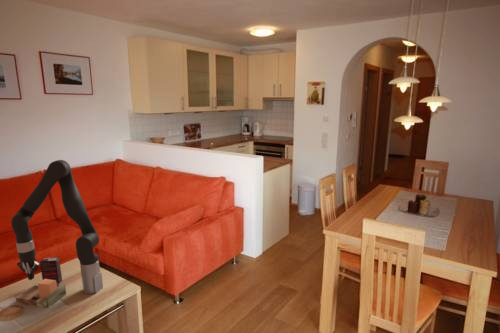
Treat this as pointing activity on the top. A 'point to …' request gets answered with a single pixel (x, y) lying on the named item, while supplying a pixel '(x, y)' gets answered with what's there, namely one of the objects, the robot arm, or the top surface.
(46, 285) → the block
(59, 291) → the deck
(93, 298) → the top surface
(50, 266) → the supplement box
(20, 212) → the robot arm
